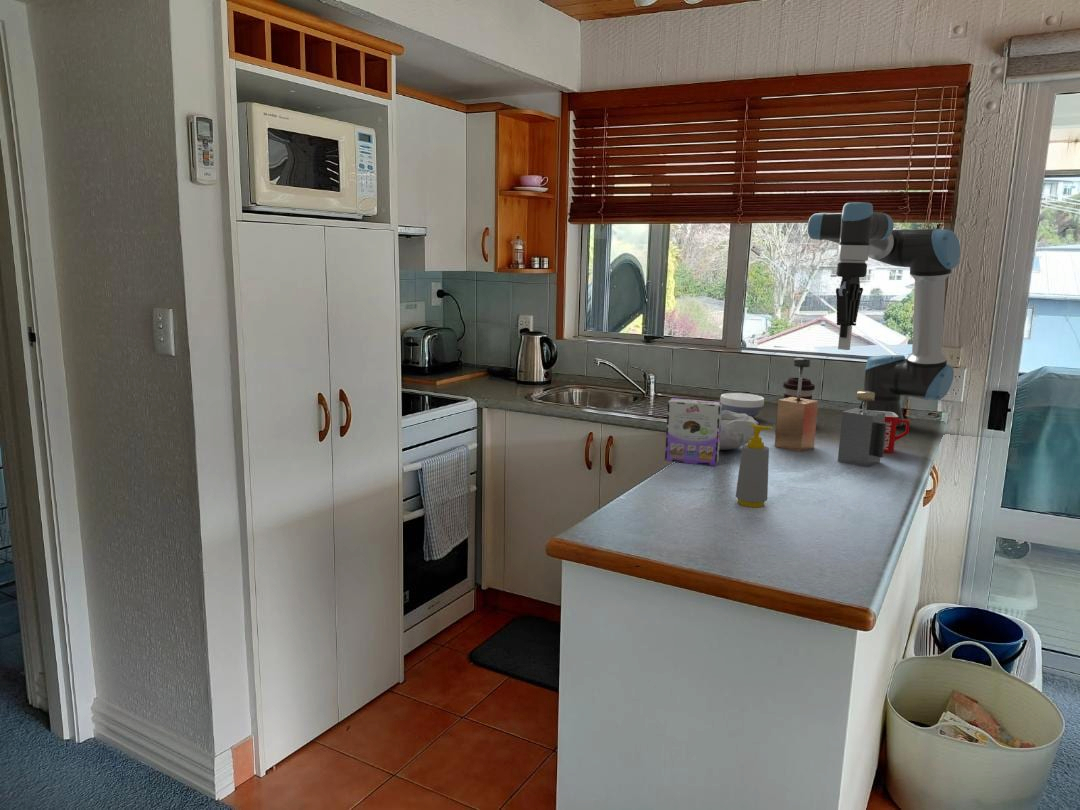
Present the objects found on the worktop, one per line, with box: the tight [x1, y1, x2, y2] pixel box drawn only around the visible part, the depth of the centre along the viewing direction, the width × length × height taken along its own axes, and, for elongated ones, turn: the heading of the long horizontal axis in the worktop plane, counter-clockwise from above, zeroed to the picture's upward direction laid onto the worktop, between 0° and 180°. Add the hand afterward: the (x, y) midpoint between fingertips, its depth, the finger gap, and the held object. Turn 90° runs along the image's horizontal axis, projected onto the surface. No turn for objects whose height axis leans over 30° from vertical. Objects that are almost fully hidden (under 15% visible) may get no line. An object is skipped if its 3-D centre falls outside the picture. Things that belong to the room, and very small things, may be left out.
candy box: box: [664, 397, 723, 467], centre depth 213 cm, size 14×6×16 cm, turn 71°
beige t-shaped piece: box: [856, 390, 875, 413], centre depth 217 cm, size 6×6×17 cm
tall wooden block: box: [774, 397, 819, 452], centre depth 234 cm, size 8×10×14 cm
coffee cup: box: [782, 377, 816, 400], centre depth 267 cm, size 10×10×15 cm
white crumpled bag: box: [719, 409, 760, 451], centre depth 229 cm, size 21×20×10 cm
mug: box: [878, 411, 911, 454], centre depth 233 cm, size 12×8×11 cm
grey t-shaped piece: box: [793, 357, 811, 401], centre depth 231 cm, size 6×6×17 cm
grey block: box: [837, 407, 887, 468], centre depth 217 cm, size 8×10×14 cm
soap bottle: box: [735, 424, 774, 508], centre depth 178 cm, size 7×7×18 cm
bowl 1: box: [719, 392, 765, 420], centre depth 273 cm, size 14×14×8 cm
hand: (843, 349), depth 220 cm, fingers closed
